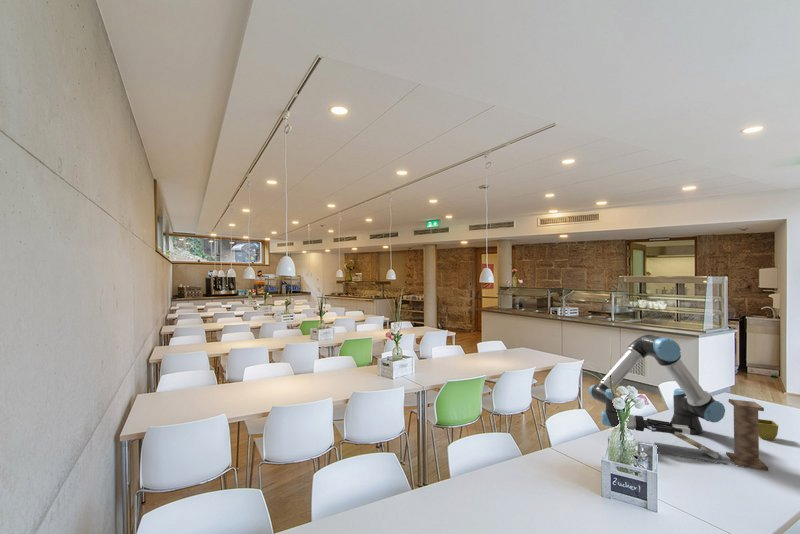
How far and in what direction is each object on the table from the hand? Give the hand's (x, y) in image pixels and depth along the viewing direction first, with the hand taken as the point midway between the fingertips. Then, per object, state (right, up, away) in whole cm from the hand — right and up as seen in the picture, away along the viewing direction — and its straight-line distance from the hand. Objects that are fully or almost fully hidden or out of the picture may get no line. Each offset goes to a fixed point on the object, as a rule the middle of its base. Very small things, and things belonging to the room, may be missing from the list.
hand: (688, 430), depth 194 cm
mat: (0, -12, 0) cm, 12 cm away
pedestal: (+20, -12, -9) cm, 25 cm away
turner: (0, -6, 0) cm, 6 cm away
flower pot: (+57, -13, +20) cm, 62 cm away
